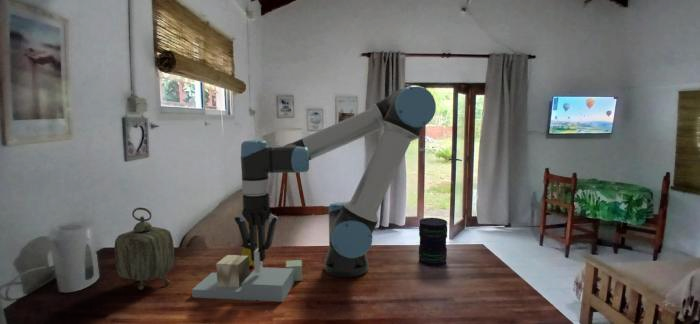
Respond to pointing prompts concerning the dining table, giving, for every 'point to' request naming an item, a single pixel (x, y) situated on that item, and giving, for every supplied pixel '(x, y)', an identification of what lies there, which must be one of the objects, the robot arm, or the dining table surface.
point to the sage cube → (295, 268)
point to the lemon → (247, 253)
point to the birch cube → (232, 270)
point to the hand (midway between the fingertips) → (258, 270)
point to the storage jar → (432, 242)
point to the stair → (250, 286)
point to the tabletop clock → (144, 252)
